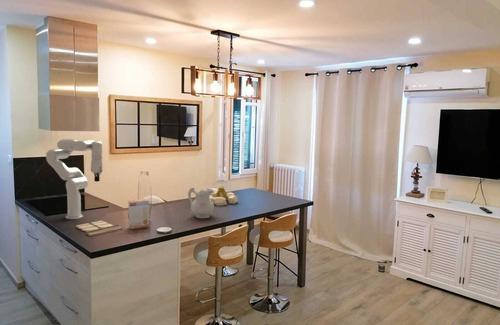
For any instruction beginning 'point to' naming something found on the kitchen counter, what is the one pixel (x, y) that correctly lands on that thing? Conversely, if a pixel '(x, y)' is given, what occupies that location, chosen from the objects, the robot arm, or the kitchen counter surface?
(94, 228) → the plank near
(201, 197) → the ceramic pitcher
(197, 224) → the kitchen counter surface
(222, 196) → the campfire
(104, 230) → the laid floor strip
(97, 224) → the plank far
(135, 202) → the cracker box
